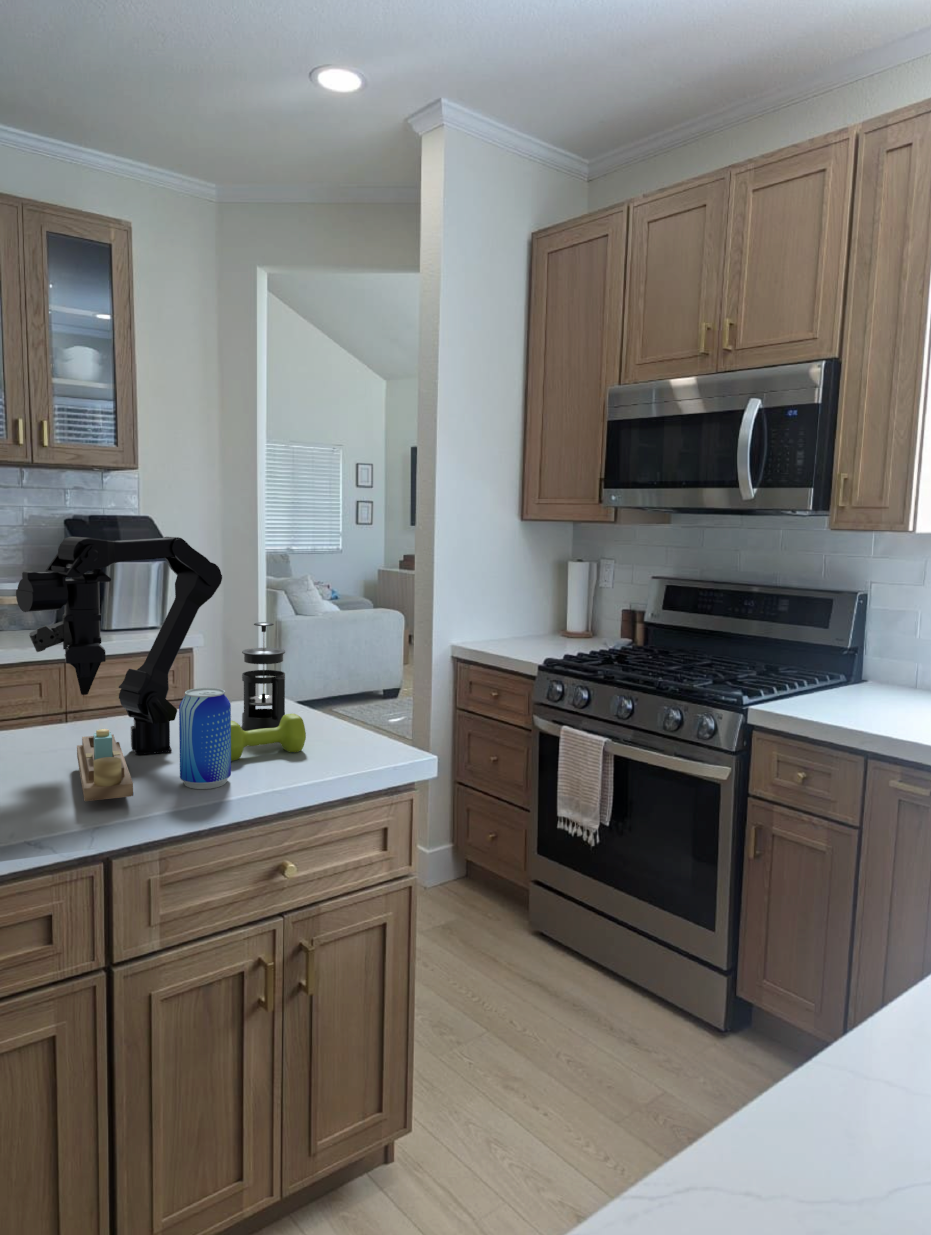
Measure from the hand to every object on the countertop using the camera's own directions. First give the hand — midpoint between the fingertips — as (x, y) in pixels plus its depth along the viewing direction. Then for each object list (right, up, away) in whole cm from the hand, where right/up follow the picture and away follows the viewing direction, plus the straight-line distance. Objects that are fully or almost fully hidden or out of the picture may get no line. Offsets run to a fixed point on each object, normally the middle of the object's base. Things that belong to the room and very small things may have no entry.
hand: (84, 694), depth 156 cm
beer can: (+24, -15, -6) cm, 29 cm away
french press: (+25, -10, +31) cm, 41 cm away
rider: (+8, -11, -11) cm, 18 cm away
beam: (+8, -15, -10) cm, 19 cm away
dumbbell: (+29, -13, +12) cm, 34 cm away
